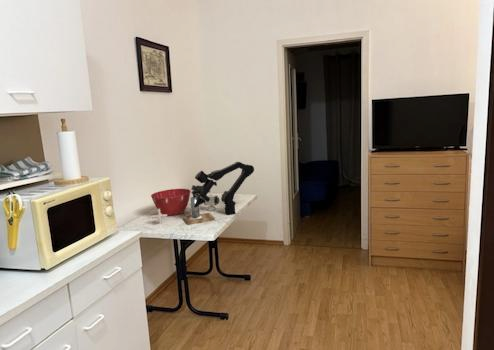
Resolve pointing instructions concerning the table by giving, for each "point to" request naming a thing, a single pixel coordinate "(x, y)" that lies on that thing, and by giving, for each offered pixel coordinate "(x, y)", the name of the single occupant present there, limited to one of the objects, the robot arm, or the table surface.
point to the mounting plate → (199, 218)
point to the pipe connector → (159, 216)
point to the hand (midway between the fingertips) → (193, 206)
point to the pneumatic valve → (212, 202)
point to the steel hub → (194, 209)
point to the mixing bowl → (171, 201)
